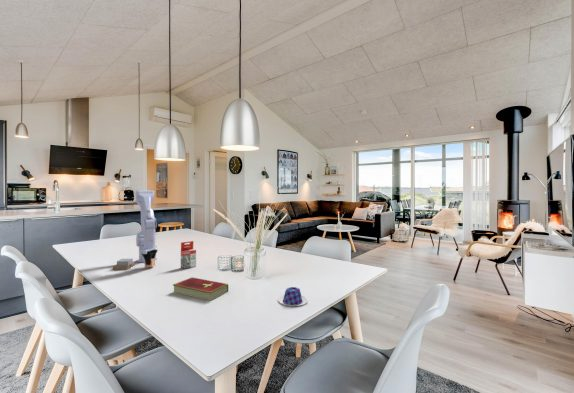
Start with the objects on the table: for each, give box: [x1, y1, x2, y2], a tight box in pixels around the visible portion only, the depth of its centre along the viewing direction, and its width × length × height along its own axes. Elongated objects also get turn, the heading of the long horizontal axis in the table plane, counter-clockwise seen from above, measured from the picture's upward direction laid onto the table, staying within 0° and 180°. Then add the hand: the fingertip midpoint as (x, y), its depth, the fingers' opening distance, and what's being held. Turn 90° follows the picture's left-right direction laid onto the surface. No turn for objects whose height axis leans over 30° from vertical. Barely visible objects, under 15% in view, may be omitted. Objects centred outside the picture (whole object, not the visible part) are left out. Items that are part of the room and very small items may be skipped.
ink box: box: [180, 240, 197, 270], centre depth 163 cm, size 4×8×15 cm, turn 134°
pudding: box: [277, 286, 308, 307], centre depth 116 cm, size 12×12×5 cm
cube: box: [144, 258, 156, 268], centre depth 161 cm, size 4×4×4 cm
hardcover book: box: [172, 277, 229, 301], centre depth 125 cm, size 12×21×4 cm, turn 65°
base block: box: [112, 262, 136, 271], centre depth 161 cm, size 8×8×2 cm
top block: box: [116, 258, 134, 266], centre depth 161 cm, size 6×6×2 cm
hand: (149, 263), depth 161 cm, fingers closed on cube, 4 cm apart
